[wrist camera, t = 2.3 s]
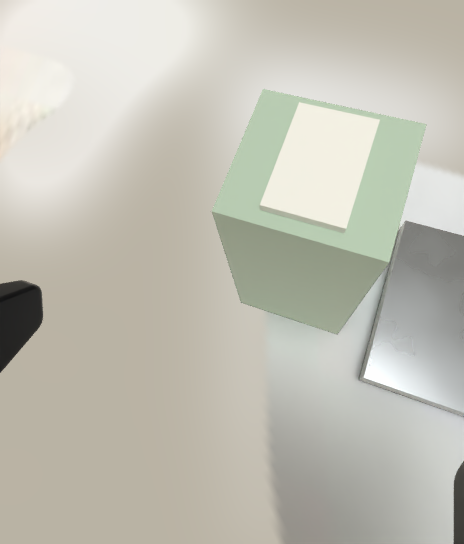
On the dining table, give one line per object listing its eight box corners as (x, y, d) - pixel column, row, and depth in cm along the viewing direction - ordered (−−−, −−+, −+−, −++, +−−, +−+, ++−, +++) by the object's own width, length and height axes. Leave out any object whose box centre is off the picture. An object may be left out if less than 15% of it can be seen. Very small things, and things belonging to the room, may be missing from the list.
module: (361, 252, 21) (430, 117, 12) (337, 334, 20) (392, 258, 10) (269, 226, 22) (262, 81, 13) (240, 302, 21) (210, 206, 12)
